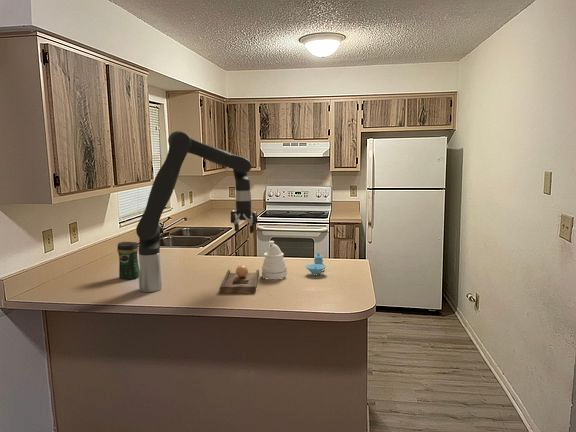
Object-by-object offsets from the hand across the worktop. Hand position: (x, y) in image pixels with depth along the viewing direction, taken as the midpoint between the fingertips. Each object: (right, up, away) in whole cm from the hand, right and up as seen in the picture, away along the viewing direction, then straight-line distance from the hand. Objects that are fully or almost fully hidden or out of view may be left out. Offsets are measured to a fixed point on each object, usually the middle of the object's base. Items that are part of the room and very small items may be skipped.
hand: (244, 232), depth 215 cm
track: (-1, -25, -4) cm, 25 cm away
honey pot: (+15, -23, +8) cm, 28 cm away
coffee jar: (-59, -24, +8) cm, 64 cm away
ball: (-1, -19, +1) cm, 19 cm away
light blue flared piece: (+37, -22, +14) cm, 45 cm away
